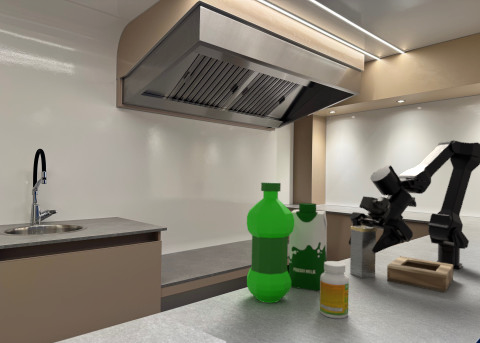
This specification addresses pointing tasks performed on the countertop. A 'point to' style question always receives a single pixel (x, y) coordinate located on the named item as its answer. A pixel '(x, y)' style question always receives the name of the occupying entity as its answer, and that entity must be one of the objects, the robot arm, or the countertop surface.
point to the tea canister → (362, 251)
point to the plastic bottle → (269, 245)
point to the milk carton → (307, 247)
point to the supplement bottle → (334, 290)
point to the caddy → (420, 273)
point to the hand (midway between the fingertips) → (361, 248)
